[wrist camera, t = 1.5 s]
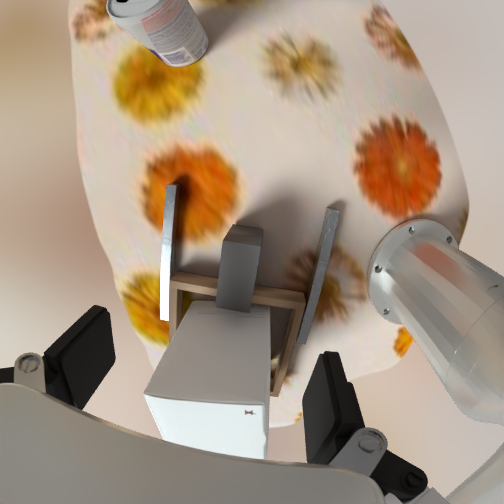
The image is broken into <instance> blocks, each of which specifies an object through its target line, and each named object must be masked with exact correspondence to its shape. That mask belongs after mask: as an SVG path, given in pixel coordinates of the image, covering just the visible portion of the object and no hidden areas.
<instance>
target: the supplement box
mask: <svg viewBox="0 0 504 504" xmlns="http://www.w3.org/2000/svg"><path fill="white" fill-rule="evenodd" d="M215 304H216V301H192V303H191V305H190V306H189V308H188V310H187V312H186V314H185V316H184V317H183V319H182V321H181V323H180V325H179V327H178V328H177V330H176V332H175V334H174V336H173V338H172V340H171V341H170V343H169V345H168V347H167V349H166V351H165V353H164V355H163V356H162V358H161V360H160V362H159V364H158V366H157V368H156V370H155V372H154V374H153V376H152V378H151V379H150V382H149V383H148V385H147V388H146V389H145V391H144V393H143V394H144V396H145V399H146V401H147V403H148V406H149V408H150V410H151V412H152V415H153V417H154V420H155V421H156V424H157V426H158V428H159V430H160V433H161V435H162V437H163V439H164V440H165V441H168V442H172V443H176V444H180V445H184V446H188V447H192V448H197V449H201V450H206V451H211V452H216V453H222V454H227V455H234V456H240V457H248V458H256V459H264V460H267V447H268V429H269V403H270V369H271V329H270V305H264V304H258V303H251V308H250V313H245V312H239V311H233V310H228V309H222V308H217V307H215Z"/></svg>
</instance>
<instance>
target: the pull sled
mask: <svg viewBox="0 0 504 504" xmlns="http://www.w3.org/2000/svg"><path fill="white" fill-rule="evenodd" d="M262 235H263V229H259V228H253V227H247V226H240V225H234V224H233V225H232V227H231V228H230V230H229V232H228V233H227V235H226V236H225V238H224V240H223V244H222V252H221V260H220V269H219V277H218V278H212V277H207V276H201V275H196V274H190V273H185V272H180V271H177V272H176V274H175V275H174V276H173V277H172V279H171V280H170V298H169V343H170V341H171V340H172V338H173V336H174V334H175V332H176V330H177V328H178V327H179V325H180V323H181V321H182V312H183V291H184V290H185V291H190V292H196V293H201V294H206V295H211V296H216V304H215V307H217V308H222V309H228V310H233V311H239V312H245V313H250V308H251V303H258V304H264V305H270V306H277V307H283V308H290V309H292V310H291V314H290V318H289V322H288V326H287V330H286V334H285V338H284V341H283V345H282V349H281V353H280V356H279V360H278V364H277V367H276V371H275V374H274V378H273V379H272V378H270V396H274V397H278V396H279V393H280V390H281V387H282V384H283V381H284V377H285V374H286V371H287V368H288V365H289V361H290V358H291V355H292V351H293V348H294V344H295V341H296V337H297V334H298V330H299V327H300V323H301V320H302V316H303V312H304V308H305V305H306V302H305V298H304V293H303V292H297V291H290V290H284V289H278V288H271V287H265V286H259V285H255V279H256V274H257V268H258V262H259V256H260V250H261V243H262Z"/></svg>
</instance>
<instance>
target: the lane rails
mask: <svg viewBox="0 0 504 504" xmlns="http://www.w3.org/2000/svg"><path fill="white" fill-rule="evenodd" d="M180 190H181V184H174V183H171V184H167V187H166V197H165V208H164V221H163V236H162V256H161V289H160V319H163V320H167V321H169V298H170V280H171V279H172V277H173V276H174V263H175V247H176V233H177V221H178V210H179V200H180ZM339 213H340V212H339V211H338V210H336V209H332V208H326V213H325V218H324V223H323V228H322V232H321V237H320V242H319V246H318V251H317V255H316V259H315V264H314V268H313V272H312V276H311V280H310V284H309V288H308V292H307V296H306V300H305V302H306V305H305V308H304V312H303V316H302V320H301V323H300V327H299V330H298V334H297V337H296V342H297V343H298V344H306V340H307V337H308V334H309V331H310V327H311V324H312V321H313V317H314V314H315V310H316V307H317V303H318V299H319V296H320V292H321V288H322V285H323V281H324V277H325V273H326V269H327V265H328V261H329V257H330V253H331V249H332V245H333V240H334V236H335V231H336V227H337V222H338V218H339Z"/></svg>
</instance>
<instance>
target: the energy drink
mask: <svg viewBox="0 0 504 504" xmlns="http://www.w3.org/2000/svg"><path fill="white" fill-rule="evenodd" d="M106 8H107V12H108V14H109V15H110V18H111V20H112V21H113V22H114V23H116V24H117V25H118V26H120V27H121V28H122V29H123V30H125V31H126V32H127V33H129V34H130V35H131V36H132V37H134V38H135V39H136V40H138V41H139V42H140V43H141V44H143V45H144V46H145V47H146V48H147V49H149V50H150V51H151V52H152V53H154V54H155V55H156V56H157V57H158V58H159V59H161V60H162V61H163V62H164V63H166V64H167V65H169V66H172V67H183V66H188V65H190V64H192V63H194V62H196V61H197V60H198V59H200V58H201V57H202V56H203V55H204V53H205V52H206V50H207V47H208V42H209V41H208V36H207V34H206V32H205V30H204V28H203V26H202V25H201V23H200V21H199V19H198V17H197V16H196V14H195V12H194V10H193V9H192V7H191V5H190V3H189V2H188V0H108V1H107V6H106Z"/></svg>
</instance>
